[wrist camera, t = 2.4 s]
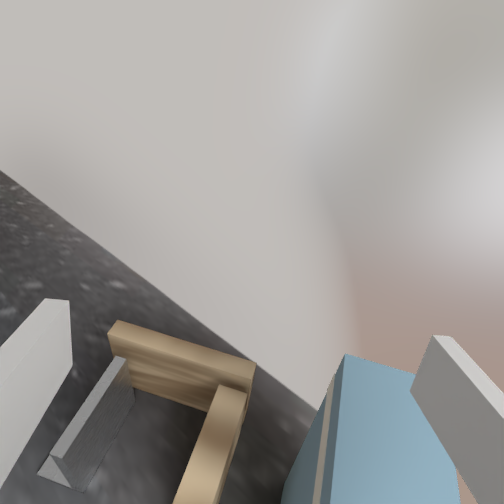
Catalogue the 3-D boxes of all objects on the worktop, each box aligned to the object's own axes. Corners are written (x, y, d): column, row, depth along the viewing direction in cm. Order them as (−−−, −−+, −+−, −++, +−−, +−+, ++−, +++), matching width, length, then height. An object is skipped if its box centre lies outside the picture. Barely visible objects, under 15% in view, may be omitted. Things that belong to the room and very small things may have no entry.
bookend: (83, 493, 36) (61, 458, 30) (37, 475, 36) (8, 437, 31) (135, 401, 43) (126, 359, 37) (96, 388, 44) (81, 344, 38)
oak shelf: (204, 548, 33) (207, 518, 27) (53, 488, 36) (22, 447, 29) (247, 408, 44) (256, 362, 38) (128, 369, 46) (117, 319, 40)
